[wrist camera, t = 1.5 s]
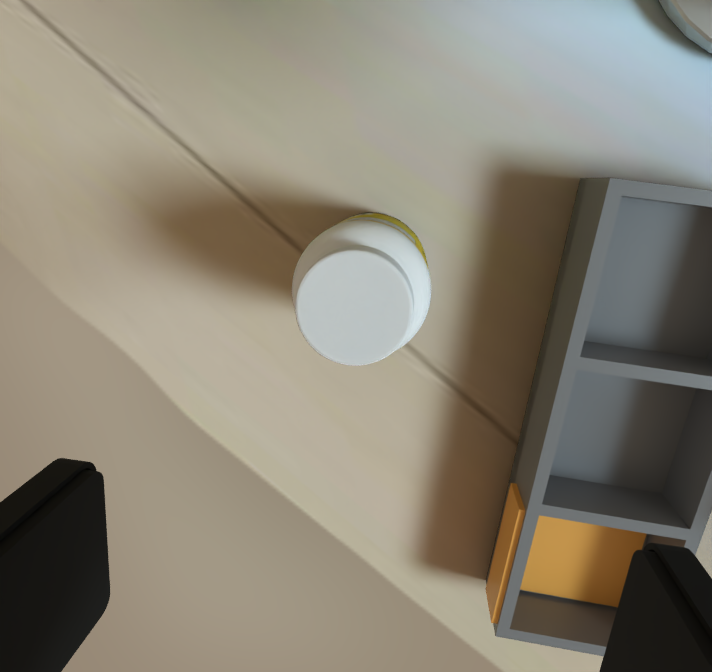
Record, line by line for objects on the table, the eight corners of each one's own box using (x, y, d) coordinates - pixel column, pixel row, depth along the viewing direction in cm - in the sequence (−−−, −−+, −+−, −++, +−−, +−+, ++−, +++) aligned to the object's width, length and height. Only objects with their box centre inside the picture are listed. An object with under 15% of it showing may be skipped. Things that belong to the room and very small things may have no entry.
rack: (574, 177, 25) (602, 176, 21) (759, 201, 24) (823, 204, 21) (480, 580, 31) (489, 634, 28) (625, 605, 31) (654, 665, 27)
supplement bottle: (401, 334, 28) (393, 411, 19) (305, 293, 28) (249, 349, 19) (445, 237, 26) (461, 267, 17) (344, 193, 26) (304, 199, 17)
